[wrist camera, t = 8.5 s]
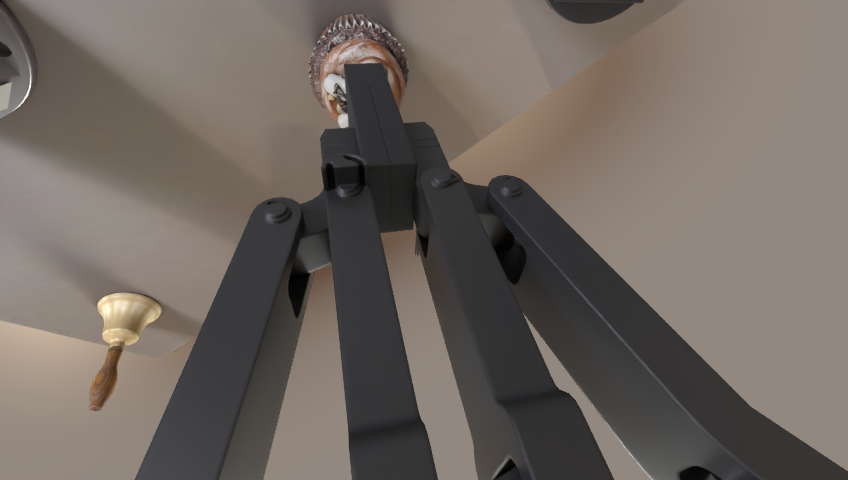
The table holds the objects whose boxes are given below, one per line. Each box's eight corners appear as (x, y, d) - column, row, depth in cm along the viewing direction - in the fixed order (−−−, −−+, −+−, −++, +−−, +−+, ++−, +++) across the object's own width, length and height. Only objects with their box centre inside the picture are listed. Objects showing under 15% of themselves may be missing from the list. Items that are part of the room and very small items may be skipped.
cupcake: (414, 75, 45) (433, 123, 39) (336, 110, 47) (342, 162, 40) (379, -15, 38) (395, 25, 32) (288, 29, 39) (286, 77, 33)
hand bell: (86, 312, 62) (43, 417, 52) (114, 285, 59) (75, 391, 49) (144, 327, 68) (116, 426, 57) (172, 304, 65) (148, 402, 54)
